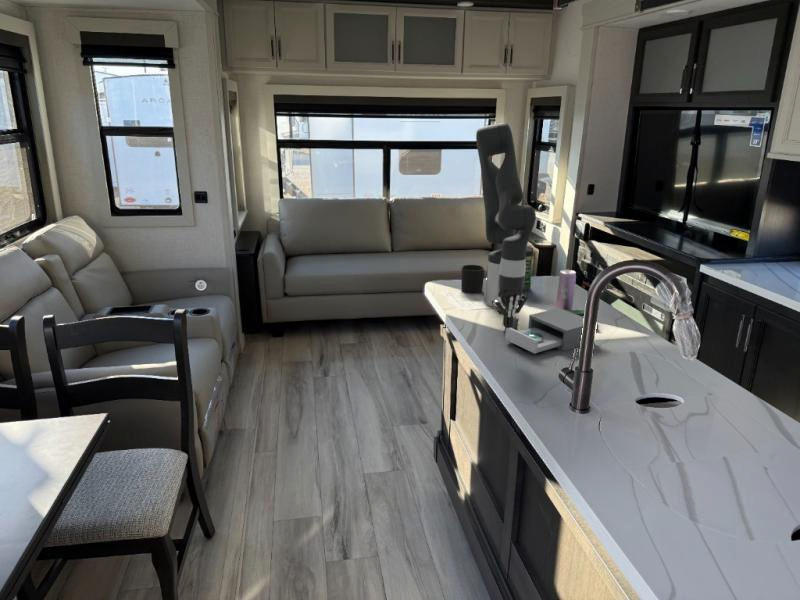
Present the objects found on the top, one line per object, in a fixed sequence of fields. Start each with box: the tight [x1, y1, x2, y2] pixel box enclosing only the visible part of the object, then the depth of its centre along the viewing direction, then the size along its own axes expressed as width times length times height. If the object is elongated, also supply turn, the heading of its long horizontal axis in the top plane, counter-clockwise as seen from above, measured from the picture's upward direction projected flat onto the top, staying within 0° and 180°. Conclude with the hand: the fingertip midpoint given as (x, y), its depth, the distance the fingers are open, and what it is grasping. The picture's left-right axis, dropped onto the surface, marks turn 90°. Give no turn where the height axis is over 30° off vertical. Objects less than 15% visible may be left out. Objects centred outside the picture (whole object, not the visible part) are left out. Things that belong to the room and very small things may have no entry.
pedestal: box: [503, 316, 519, 335], centre depth 190 cm, size 4×4×5 cm
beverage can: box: [555, 269, 577, 310], centre depth 211 cm, size 6×6×15 cm
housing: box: [527, 307, 584, 352], centre depth 185 cm, size 16×14×7 cm
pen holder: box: [460, 264, 485, 295], centre depth 232 cm, size 9×9×10 cm
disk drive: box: [566, 309, 599, 332], centre depth 200 cm, size 10×3×15 cm
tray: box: [504, 327, 563, 354], centre depth 179 cm, size 13×13×4 cm
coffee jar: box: [522, 245, 535, 292], centre depth 234 cm, size 10×8×19 cm
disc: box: [525, 332, 544, 344], centre depth 179 cm, size 6×6×2 cm
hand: (507, 327), depth 171 cm, fingers closed
